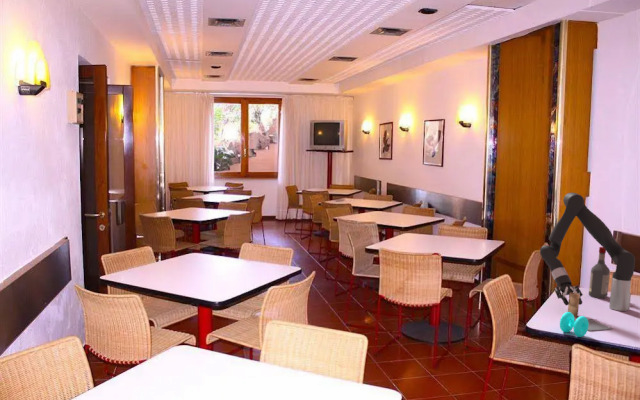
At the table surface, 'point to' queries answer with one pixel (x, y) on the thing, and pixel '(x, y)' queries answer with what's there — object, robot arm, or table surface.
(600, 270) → the liquor
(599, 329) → the slate pad
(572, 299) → the oak roller
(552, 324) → the table surface
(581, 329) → the turquoise spool
